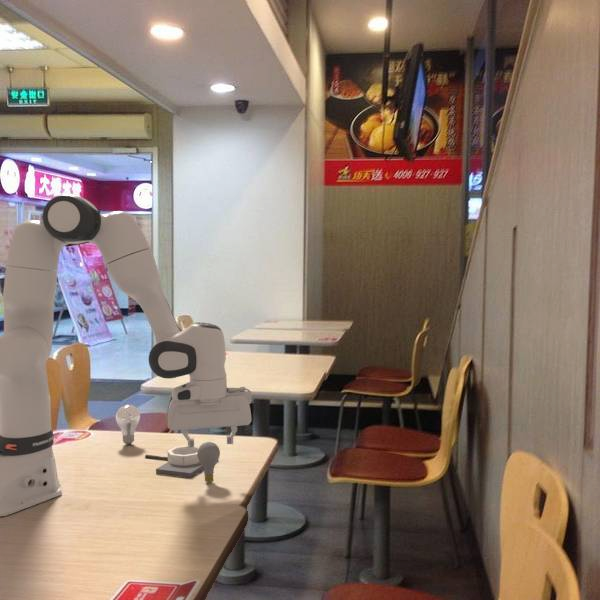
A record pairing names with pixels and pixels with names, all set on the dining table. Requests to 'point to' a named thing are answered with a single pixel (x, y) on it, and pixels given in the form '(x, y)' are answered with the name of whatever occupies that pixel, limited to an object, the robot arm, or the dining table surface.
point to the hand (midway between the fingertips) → (210, 445)
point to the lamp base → (180, 462)
